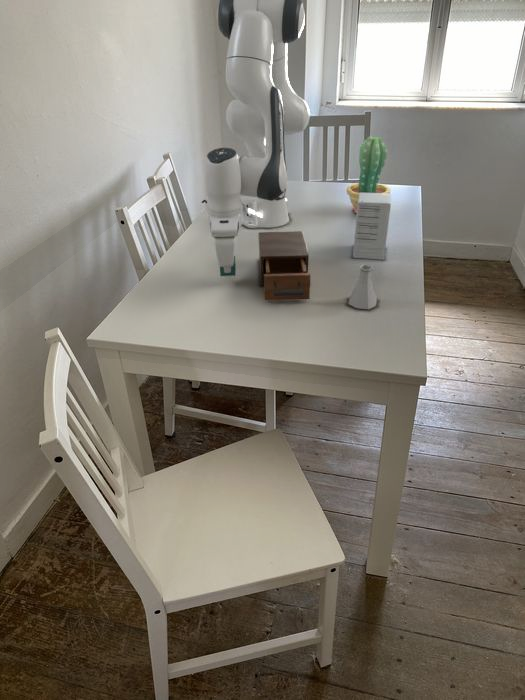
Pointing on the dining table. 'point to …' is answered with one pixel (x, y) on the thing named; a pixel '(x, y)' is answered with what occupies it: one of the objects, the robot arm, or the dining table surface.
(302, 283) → the drawer
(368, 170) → the potted cactus
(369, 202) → the supplement box
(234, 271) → the block
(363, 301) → the flask
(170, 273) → the dining table surface
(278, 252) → the cabinet
